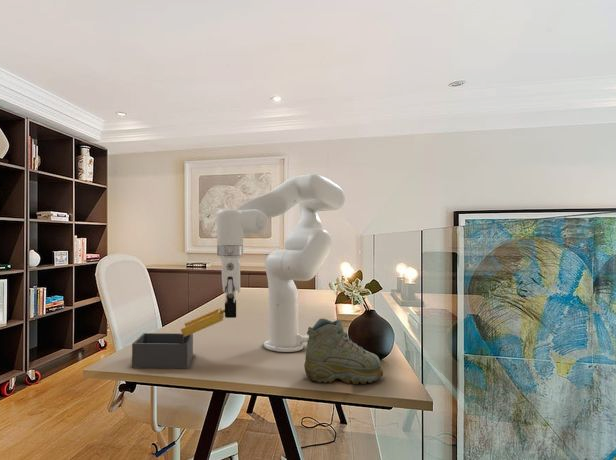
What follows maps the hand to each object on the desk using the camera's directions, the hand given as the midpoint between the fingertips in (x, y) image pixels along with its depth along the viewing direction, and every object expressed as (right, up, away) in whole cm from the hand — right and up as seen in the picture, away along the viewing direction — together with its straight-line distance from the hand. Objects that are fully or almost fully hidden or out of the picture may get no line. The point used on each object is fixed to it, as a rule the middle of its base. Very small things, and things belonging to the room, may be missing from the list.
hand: (230, 314), depth 110 cm
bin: (-19, -13, 0) cm, 23 cm away
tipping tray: (-6, -2, 0) cm, 6 cm away
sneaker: (+28, -13, -14) cm, 34 cm away
